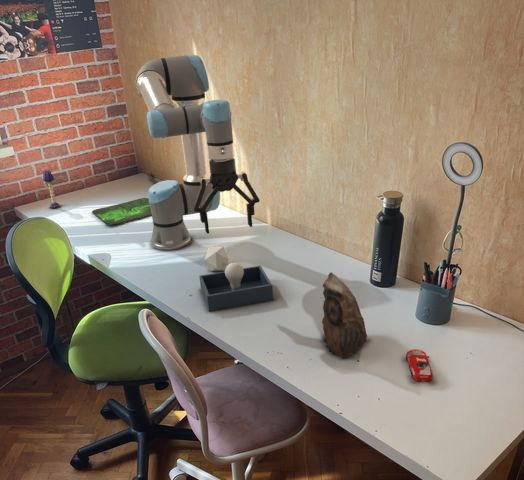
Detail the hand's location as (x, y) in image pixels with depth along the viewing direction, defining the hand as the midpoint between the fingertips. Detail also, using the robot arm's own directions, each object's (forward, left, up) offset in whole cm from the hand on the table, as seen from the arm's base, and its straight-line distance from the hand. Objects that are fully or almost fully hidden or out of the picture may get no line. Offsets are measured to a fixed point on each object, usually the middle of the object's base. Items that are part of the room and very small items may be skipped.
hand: (228, 228), depth 175 cm
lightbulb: (+2, 0, -22) cm, 22 cm away
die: (-19, -2, -23) cm, 30 cm away
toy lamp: (-107, -61, -23) cm, 125 cm away
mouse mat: (-87, -29, -23) cm, 94 cm away
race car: (+57, +37, -23) cm, 72 cm away
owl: (+40, +23, -23) cm, 52 cm away
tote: (+2, 0, -23) cm, 23 cm away
